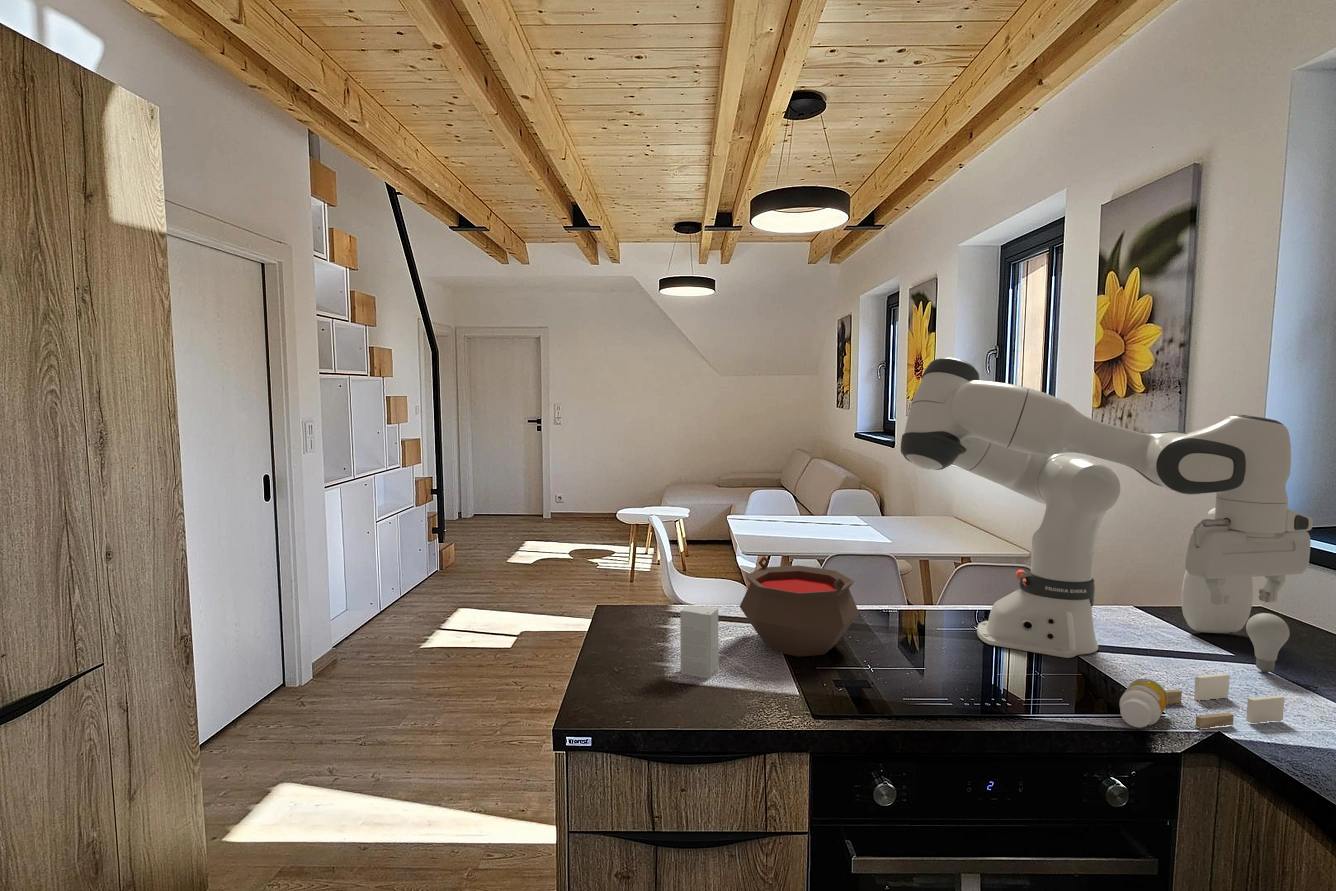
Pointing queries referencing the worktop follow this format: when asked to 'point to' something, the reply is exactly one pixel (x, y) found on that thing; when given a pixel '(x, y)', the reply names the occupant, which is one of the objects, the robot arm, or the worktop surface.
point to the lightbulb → (1267, 638)
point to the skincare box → (699, 641)
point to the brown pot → (799, 608)
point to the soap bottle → (1212, 616)
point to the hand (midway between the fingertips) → (1243, 602)
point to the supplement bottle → (1143, 702)
